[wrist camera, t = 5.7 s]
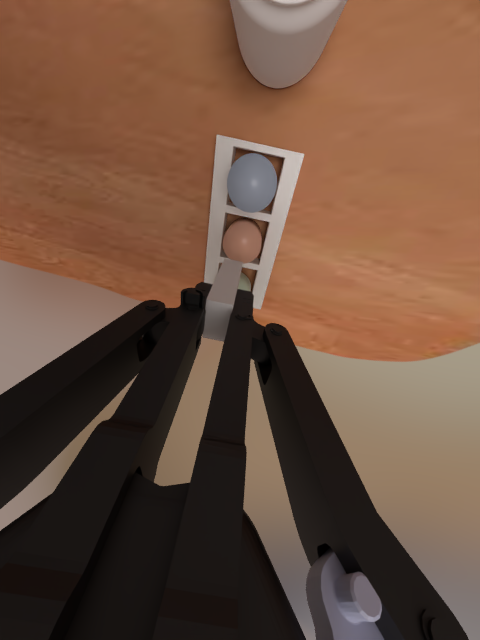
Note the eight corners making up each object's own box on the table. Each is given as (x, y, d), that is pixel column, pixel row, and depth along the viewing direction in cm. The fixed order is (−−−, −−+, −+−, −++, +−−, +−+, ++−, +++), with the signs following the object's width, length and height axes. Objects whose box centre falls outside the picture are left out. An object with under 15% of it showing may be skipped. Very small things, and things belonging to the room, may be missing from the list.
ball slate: (229, 202, 24) (223, 207, 21) (235, 151, 21) (230, 147, 18) (269, 211, 24) (269, 217, 21) (280, 161, 21) (283, 159, 18)
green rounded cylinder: (216, 297, 31) (211, 310, 28) (220, 267, 28) (215, 279, 25) (247, 303, 31) (245, 317, 28) (254, 274, 29) (253, 287, 25)
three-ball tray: (206, 290, 34) (202, 297, 32) (220, 137, 23) (216, 134, 21) (260, 301, 34) (260, 309, 32) (300, 155, 23) (304, 154, 21)
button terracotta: (225, 250, 30) (220, 259, 26) (229, 214, 27) (225, 219, 24) (257, 257, 30) (256, 267, 27) (265, 221, 27) (265, 228, 24)
